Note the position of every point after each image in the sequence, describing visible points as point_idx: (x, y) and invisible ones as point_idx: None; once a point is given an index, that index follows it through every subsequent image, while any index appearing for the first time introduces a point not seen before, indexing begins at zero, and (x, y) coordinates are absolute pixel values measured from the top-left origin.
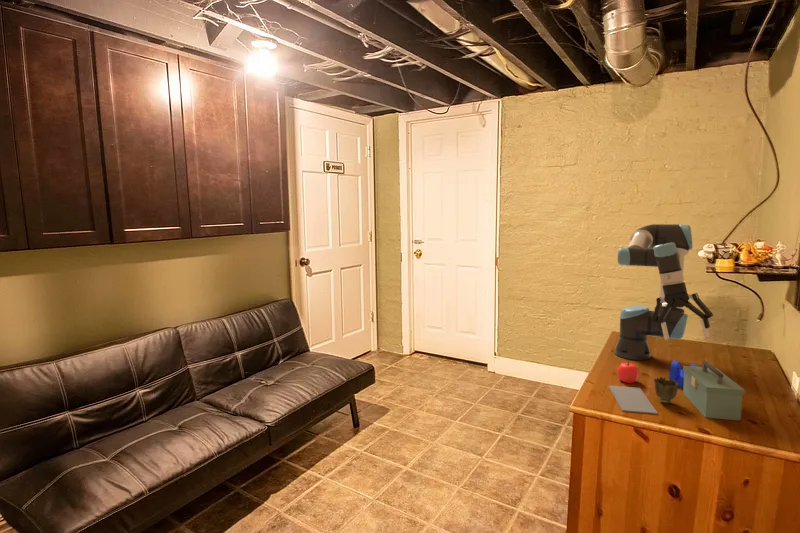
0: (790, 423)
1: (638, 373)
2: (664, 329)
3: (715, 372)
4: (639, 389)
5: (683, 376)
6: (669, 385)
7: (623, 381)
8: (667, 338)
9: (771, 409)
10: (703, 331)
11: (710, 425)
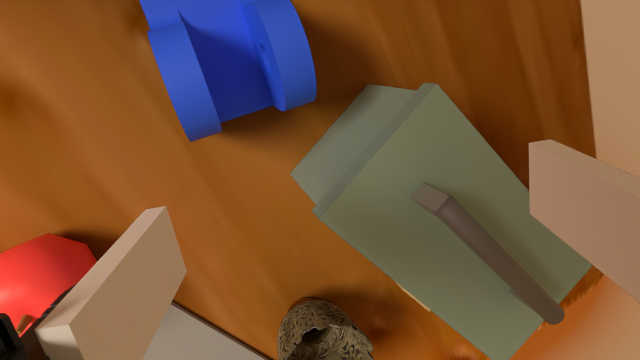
0: (585, 104)
1: (88, 262)
2: (148, 343)
3: (531, 306)
4: (179, 316)
5: (193, 8)
6: (313, 315)
7: None
8: (177, 255)
9: (531, 30)
10: (572, 244)
11: None
